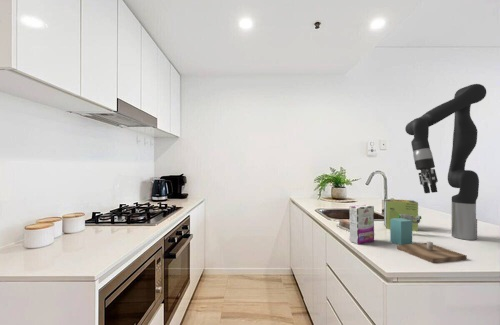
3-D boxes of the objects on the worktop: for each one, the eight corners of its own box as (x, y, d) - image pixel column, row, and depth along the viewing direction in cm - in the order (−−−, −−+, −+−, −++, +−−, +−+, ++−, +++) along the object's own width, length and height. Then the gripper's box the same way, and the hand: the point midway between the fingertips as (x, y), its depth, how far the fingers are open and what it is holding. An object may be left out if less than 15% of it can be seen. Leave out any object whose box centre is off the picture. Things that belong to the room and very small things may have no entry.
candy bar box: (365, 238, 121) (365, 204, 121) (374, 241, 117) (374, 205, 117) (348, 241, 116) (348, 205, 116) (357, 244, 112) (358, 207, 112)
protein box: (418, 231, 135) (418, 202, 136) (386, 228, 141) (386, 200, 141) (413, 227, 145) (413, 200, 145) (383, 224, 151) (383, 198, 151)
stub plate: (427, 246, 110) (427, 235, 110) (466, 259, 95) (466, 247, 95) (397, 248, 107) (397, 238, 107) (432, 263, 91) (432, 250, 91)
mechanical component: (422, 236, 126) (422, 216, 126) (399, 234, 128) (399, 215, 129) (419, 234, 129) (419, 214, 129) (397, 233, 131) (397, 214, 131)
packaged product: (335, 218, 145) (351, 218, 147) (335, 227, 145) (351, 226, 147) (355, 226, 127) (372, 225, 129) (355, 236, 127) (372, 235, 129)
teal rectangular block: (401, 240, 118) (401, 218, 118) (412, 244, 112) (412, 220, 112) (390, 241, 117) (390, 218, 117) (401, 245, 111) (401, 221, 111)
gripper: (438, 155, 114) (447, 191, 111) (426, 160, 127) (434, 192, 124) (419, 157, 116) (427, 193, 113) (410, 162, 129) (416, 194, 126)
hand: (430, 192), depth 119 cm, fingers open, 8 cm apart
